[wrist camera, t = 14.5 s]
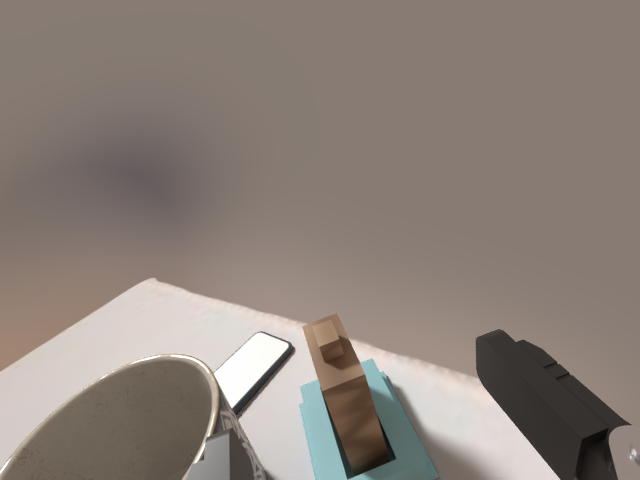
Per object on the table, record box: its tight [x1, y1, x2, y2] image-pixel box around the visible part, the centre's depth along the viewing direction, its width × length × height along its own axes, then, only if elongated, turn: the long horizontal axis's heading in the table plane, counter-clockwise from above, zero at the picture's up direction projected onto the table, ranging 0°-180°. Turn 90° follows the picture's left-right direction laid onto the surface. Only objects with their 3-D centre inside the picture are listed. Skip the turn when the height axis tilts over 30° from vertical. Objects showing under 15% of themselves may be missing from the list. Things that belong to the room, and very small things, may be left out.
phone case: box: [213, 331, 293, 415], centre depth 54 cm, size 9×2×16 cm
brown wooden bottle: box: [302, 314, 390, 476], centre depth 37 cm, size 4×9×16 cm, turn 14°
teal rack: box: [299, 359, 439, 480], centre depth 40 cm, size 12×14×4 cm
